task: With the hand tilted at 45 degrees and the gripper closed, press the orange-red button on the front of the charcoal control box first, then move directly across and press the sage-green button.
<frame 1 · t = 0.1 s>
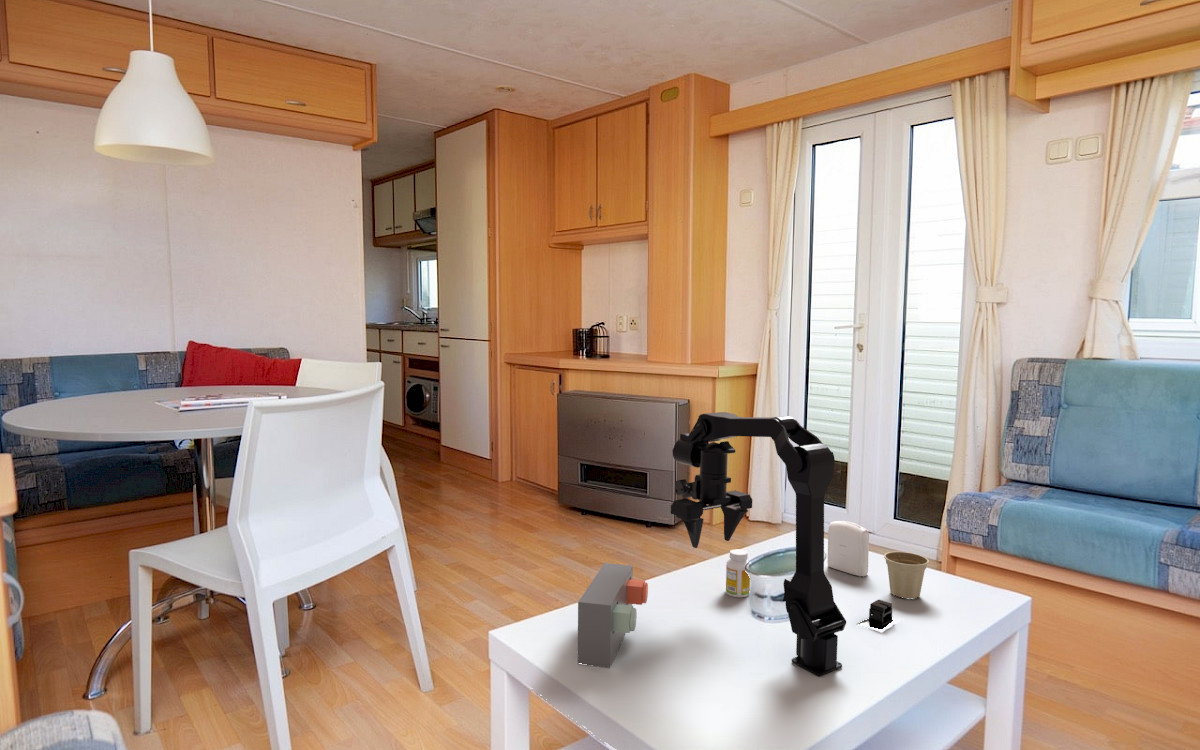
hand: (711, 544, 149), 15 cm above the table, tool pointing down, fingers open, 9 cm apart
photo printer: (847, 571, 175), on the table
button red: (635, 591, 140), point 8 cm above the table, slide at 0.0 cm
supplement bottle: (737, 594, 160), on the table
button green: (622, 618, 128), point 8 cm above the table, slide at 0.0 cm
control box: (621, 642, 135), on the table
flower pot: (904, 595, 160), on the table
black grooved cube: (880, 625, 145), on the table
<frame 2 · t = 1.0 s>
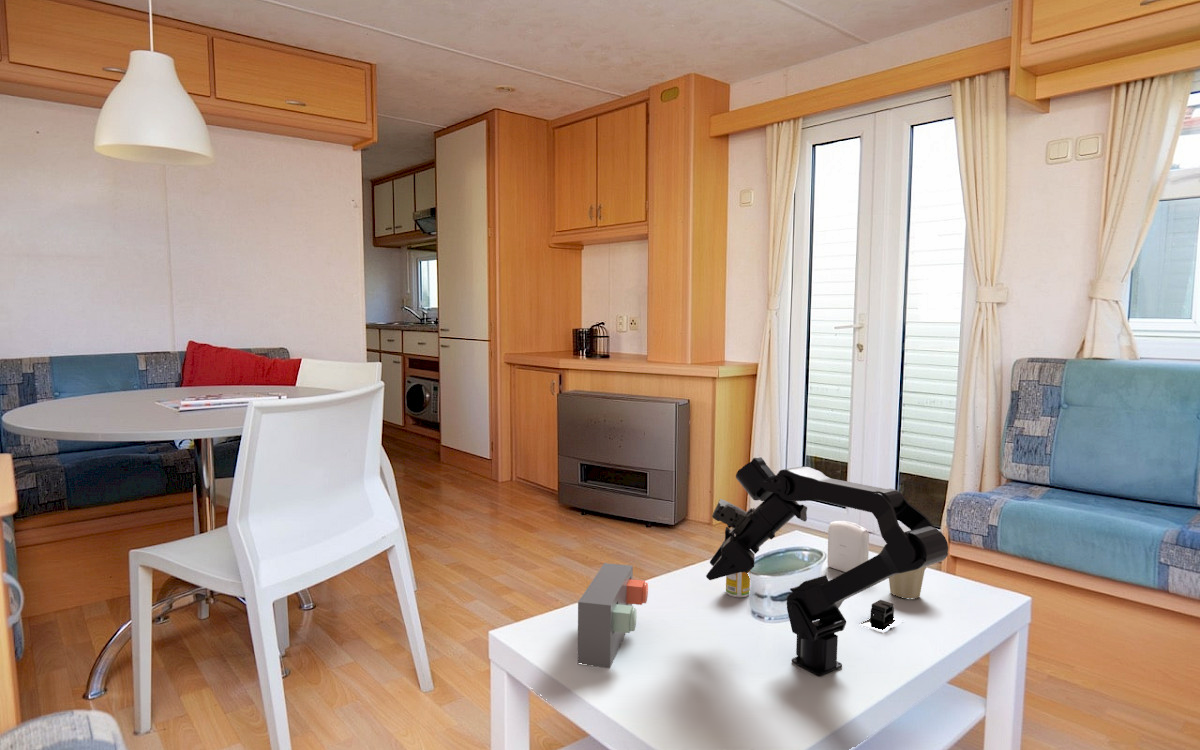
hand: (709, 570, 137), 13 cm above the table, tool tilted 45°, fingers open, 8 cm apart
nothing on the table moved.
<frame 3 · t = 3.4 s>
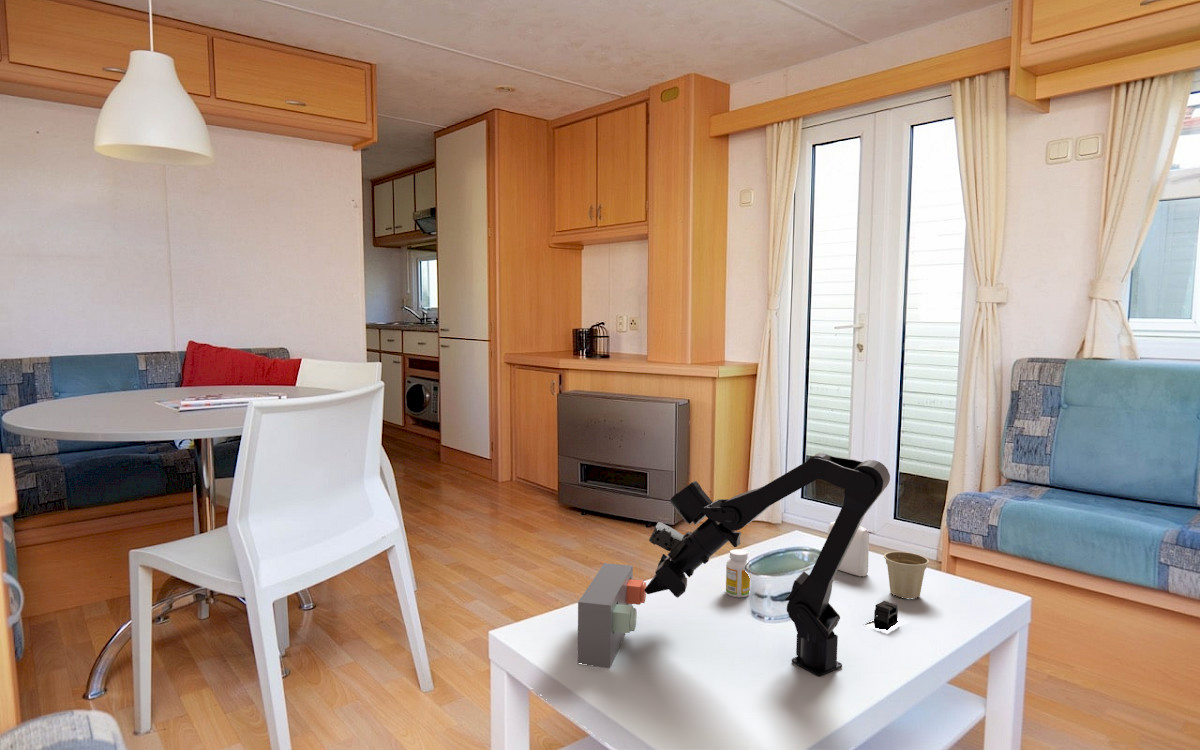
hand: (646, 591, 140), 8 cm above the table, tool tilted 45°, fingers closed, pressing on button red
button red: (633, 591, 140), point 8 cm above the table, slide at 0.4 cm, touching gripper
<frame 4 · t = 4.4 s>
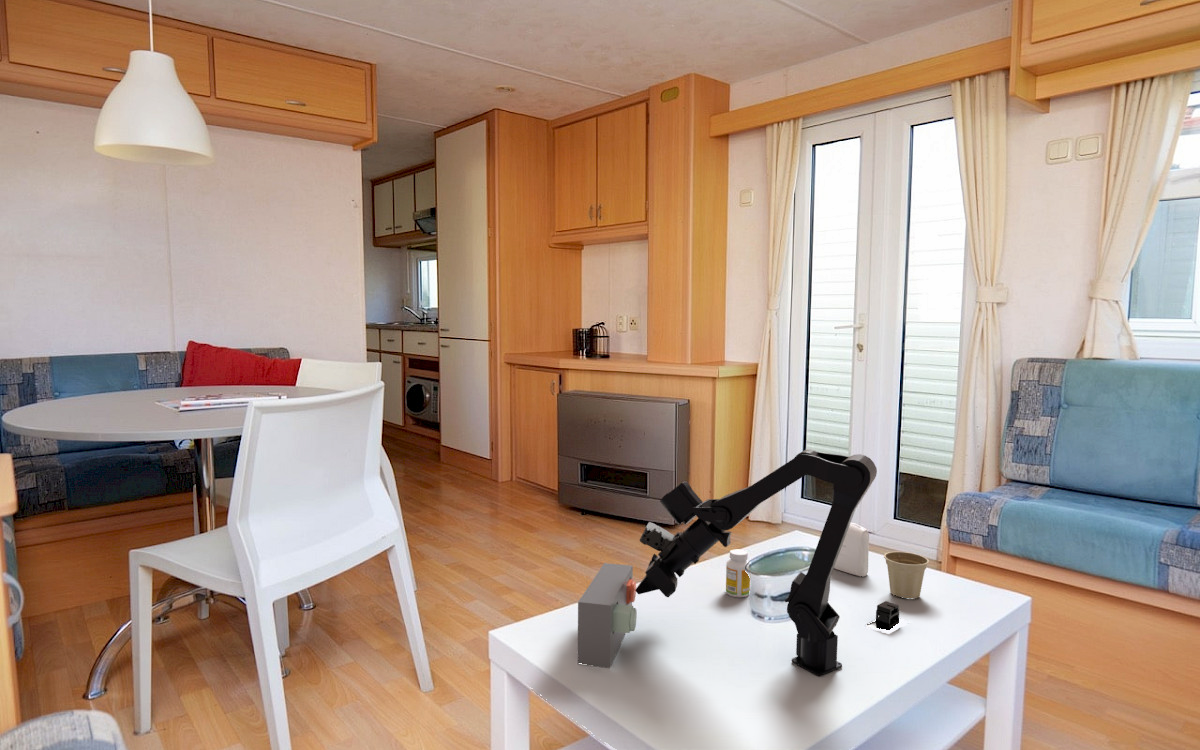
hand: (637, 591, 140), 8 cm above the table, tool tilted 45°, fingers closed
button red: (623, 590, 141), point 8 cm above the table, slide at 2.5 cm
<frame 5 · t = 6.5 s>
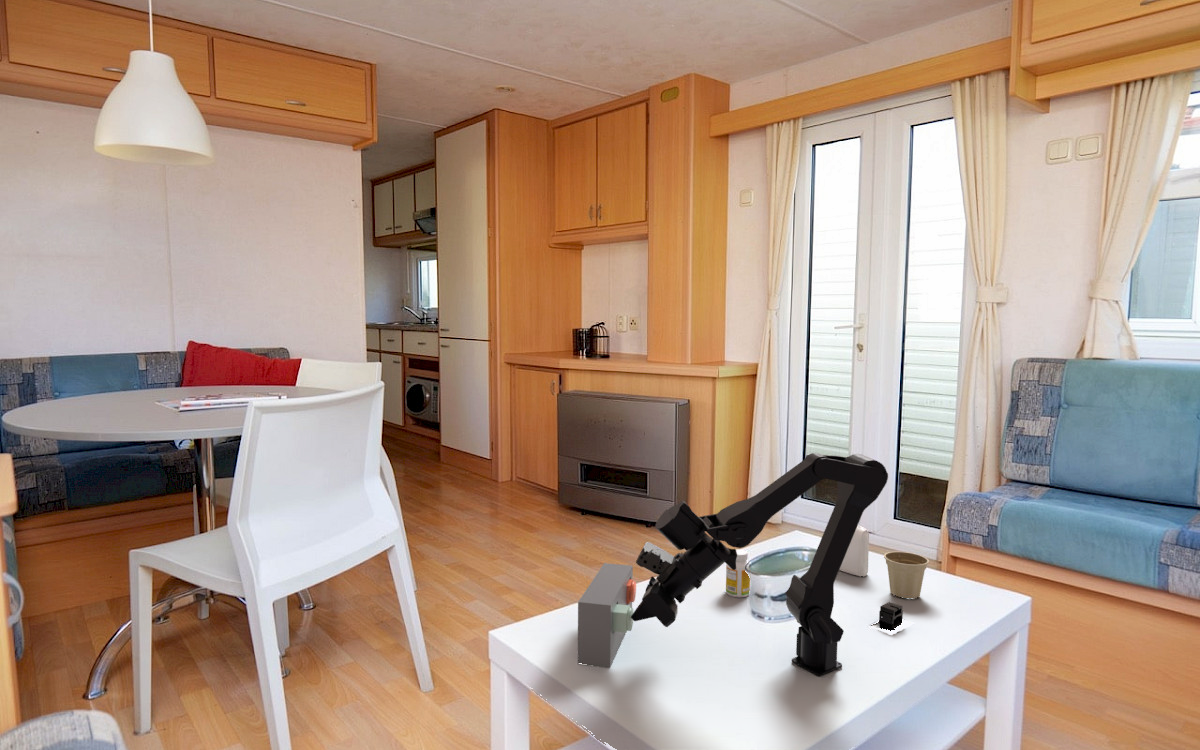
hand: (632, 618, 127), 8 cm above the table, tool tilted 45°, fingers closed, pressing on button green
button green: (619, 618, 128), point 8 cm above the table, slide at 0.6 cm, touching gripper
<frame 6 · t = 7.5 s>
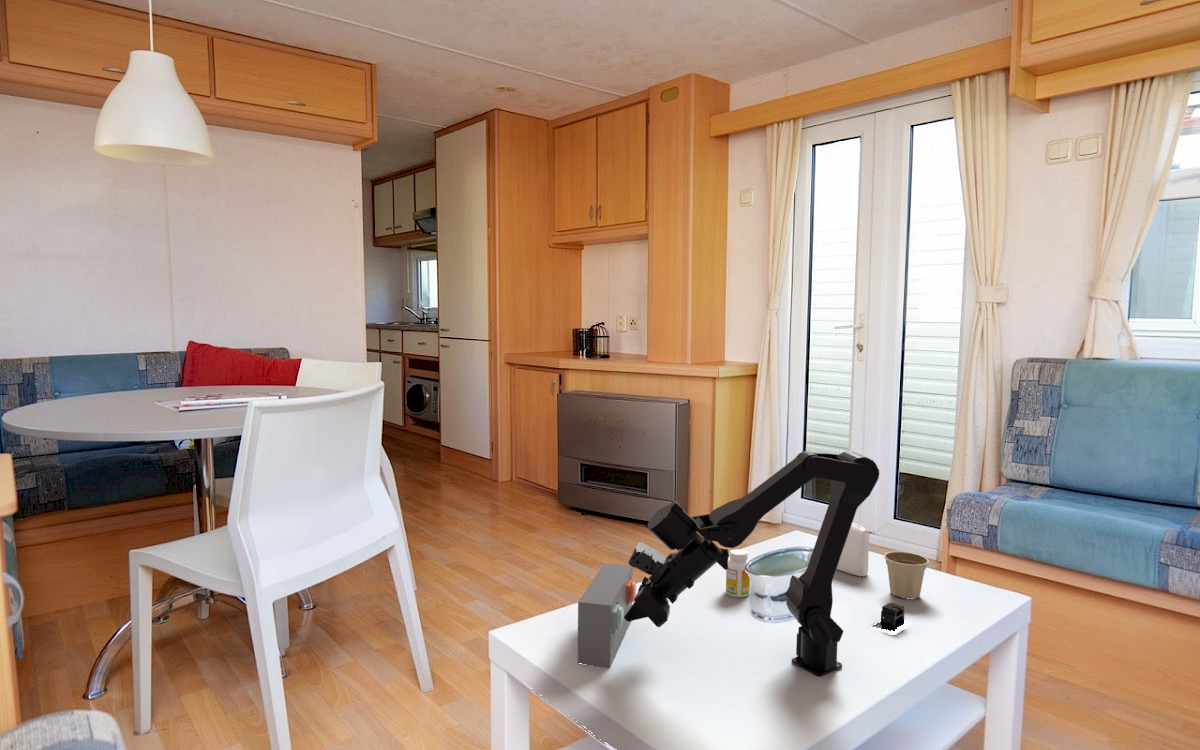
hand: (626, 618, 128), 8 cm above the table, tool tilted 45°, fingers closed
button green: (609, 616, 128), point 8 cm above the table, slide at 2.5 cm
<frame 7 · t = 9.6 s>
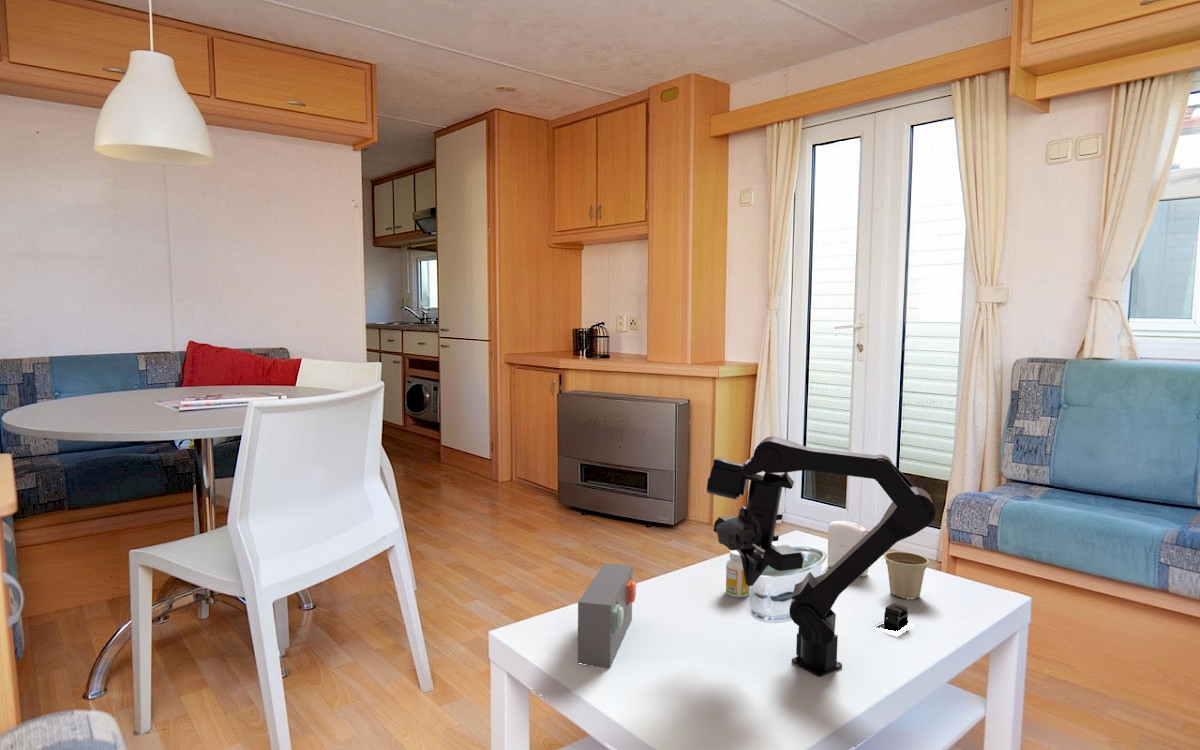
hand: (749, 585, 131), 13 cm above the table, tool pointing down, fingers closed
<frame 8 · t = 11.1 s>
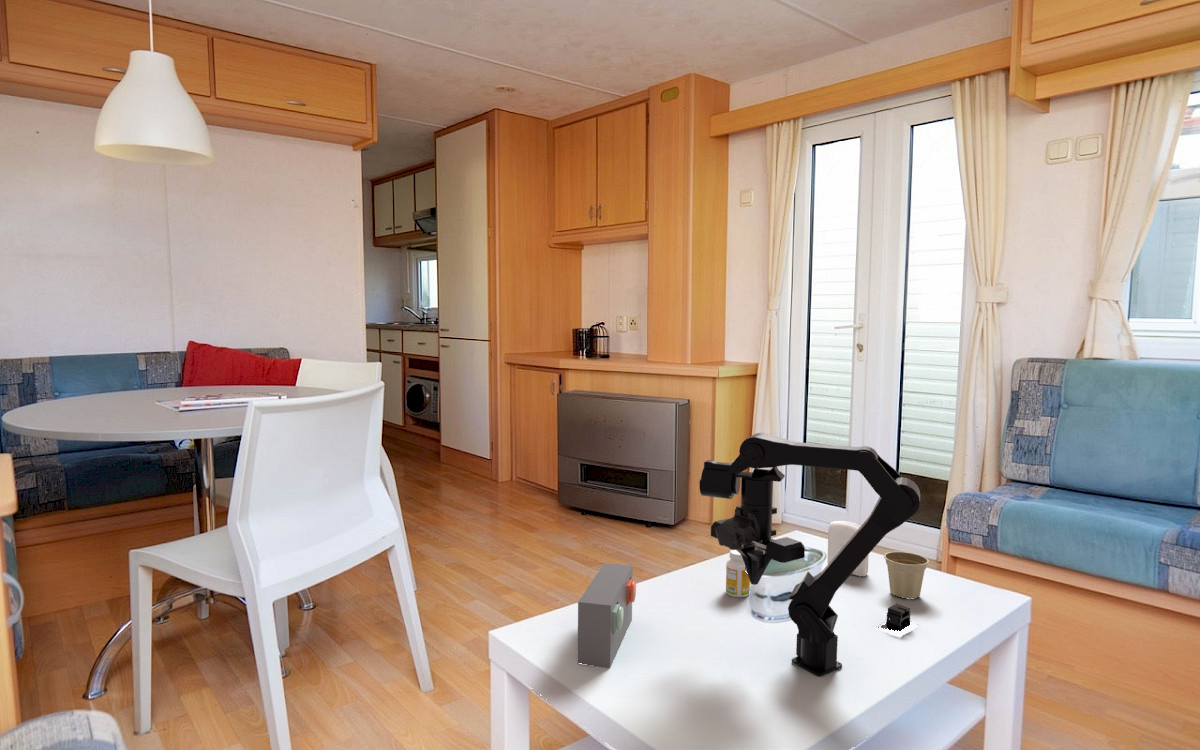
hand: (754, 584, 131), 13 cm above the table, tool pointing down, fingers closed
at the end: button red slide at 2.5 cm; button green slide at 2.5 cm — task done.
